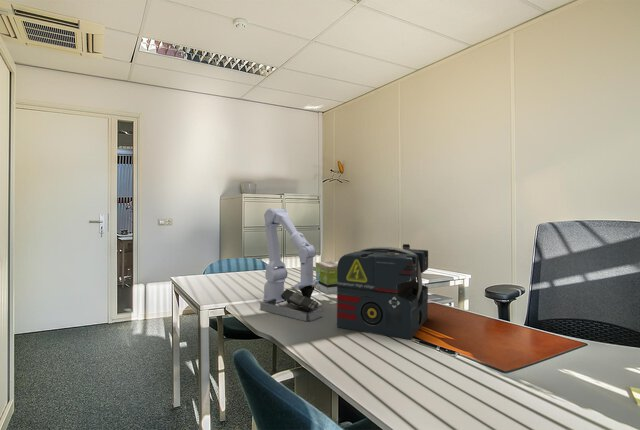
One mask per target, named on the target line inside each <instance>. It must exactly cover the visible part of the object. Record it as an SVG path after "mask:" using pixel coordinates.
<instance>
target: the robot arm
mask: <svg viewBox="0 0 640 430" xmlns="http://www.w3.org/2000/svg"><path fill="white" fill-rule="evenodd" d="M263 216H264V229H265V237H266V246H267V253H268V261H269V263H268V264H267V265H266V266H265V275H264V276H265V279H266V280H267V281H266V282H265V283H264V287H263V294H264V295H263V298H262V300H263V301H266V300H270V299H276V304H277V303H281V302H284V301H286V300H284V299H283V298H282V297H281V295H282V293H283V292H284V291H285V282H286V279H287V277H288V275H289V274H288V270H287V268H286V264H285V263H284V262H283V260H281V259H282V258H281V251H280V243H279V237H278V236H279V235H278V227H279V226H280V225H282V226H283V228H284V229H285V231H286V232H287V233H288V234H289V235H290V236H291V237H290V241H291V242H292V243H293V245H294V247H295V248H296V250H297V256H298V258H299V262H300V281H299V282H298V283H296V284H294V290H299V291H300V293H301V295H302V296H305V297H308V298H311V297H312V295H313V292H314V290H315V286H316V284H319V280H316V279H314V257H315V256H317V255H316V254H317V250H316V247H315V246H314V245H313V244H310V243H309V241H308V240H307V238H305V234H304V233H302V232H300V231H298V230H297V228H296V227H295V225H294V224H293V222H292V220H291V218H290V213H289V212H288V211H287V209H286V208H271V207H268V208H267V209H266V210H265V212H264V213H263ZM311 299H312V298H311Z"/></svg>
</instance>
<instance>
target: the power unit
mask: <svg viewBox="0 0 640 430" xmlns="http://www.w3.org/2000/svg"><path fill="white" fill-rule="evenodd" d="M337 264H338V266H337V294H336V327H337V328H341V329H346V330H352V331H357V332H362V333H363V332H364V333H370V334H375V335H381V336H387V337H393V338H397V339H401V340H402V339H403V340H407V341H408V340H409V341H411V340H412V339H413V338H414V336H415V335H416V333H417V332H418V331H419V329H420V328H422V327H423V325H424V323H425V322H426V321H427V320H428V315H429V314H428V310H429V309H428V308H429V306H428V304H429V302H428V301H429V297H428V295H429V287H428V286H427V285H425V284H423V279H422V274H423V273H424V272H426V271H427V270H428V269H429V250H428V249H415V248H411V246H410V244H409V243H403V245H402V248H401V247H392V246H373V247H367V248H363V249H360V250H359V251H353V252H349V253H346V254H344V255H342V256H341V257H340V258H339V260H338V261H337Z"/></svg>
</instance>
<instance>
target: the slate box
mask: <svg viewBox="0 0 640 430" xmlns="http://www.w3.org/2000/svg"><path fill="white" fill-rule="evenodd" d="M259 307H260V308H259V309H260V311H264V312H266V313H267V312H268V313H272V314H275V315H279V316H283V317H287V318H291V319H295V320H297V321H302V322H312V321H314V320H317V319H319V318H322V317H323V309H322V308H317V309H316V310H314V311H311V310H310V311H308V312H305V311H302V310H298V309H293V308H288V307H284V306H281V305H277V303H276V299H270V300H263V301H260V306H259Z"/></svg>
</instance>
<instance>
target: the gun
mask: <svg viewBox="0 0 640 430" xmlns="http://www.w3.org/2000/svg"><path fill="white" fill-rule="evenodd" d="M281 297H282V298H283V299H284V300H285V301H286V303H288V304H292V305H294V306H297V307H301V308H303V309H304V310H306V311H308V312H311V311H314V310H317V309H319V305H320V303H319V302H318V301H316V300H314V298H308V297H305V296H303V295H302V294H300V293H297V292H295V291H294V290H291V289H288V288H286V289H284V292H283V293H282V295H281Z"/></svg>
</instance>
